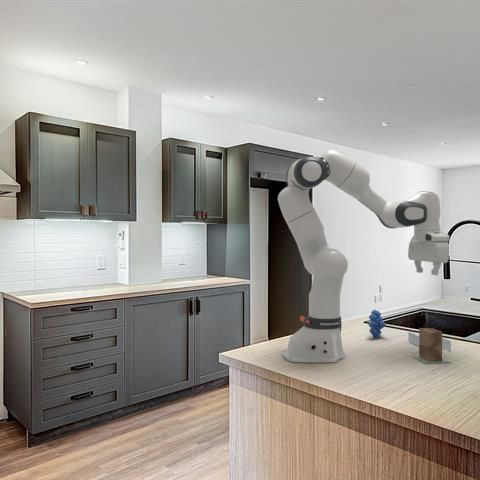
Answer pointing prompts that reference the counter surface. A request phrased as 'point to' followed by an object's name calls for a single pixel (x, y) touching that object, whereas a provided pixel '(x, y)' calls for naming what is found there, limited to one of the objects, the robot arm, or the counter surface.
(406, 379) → the counter surface
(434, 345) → the walnut block
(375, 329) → the grapes
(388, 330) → the counter surface
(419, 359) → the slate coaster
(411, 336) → the acrylic channel
